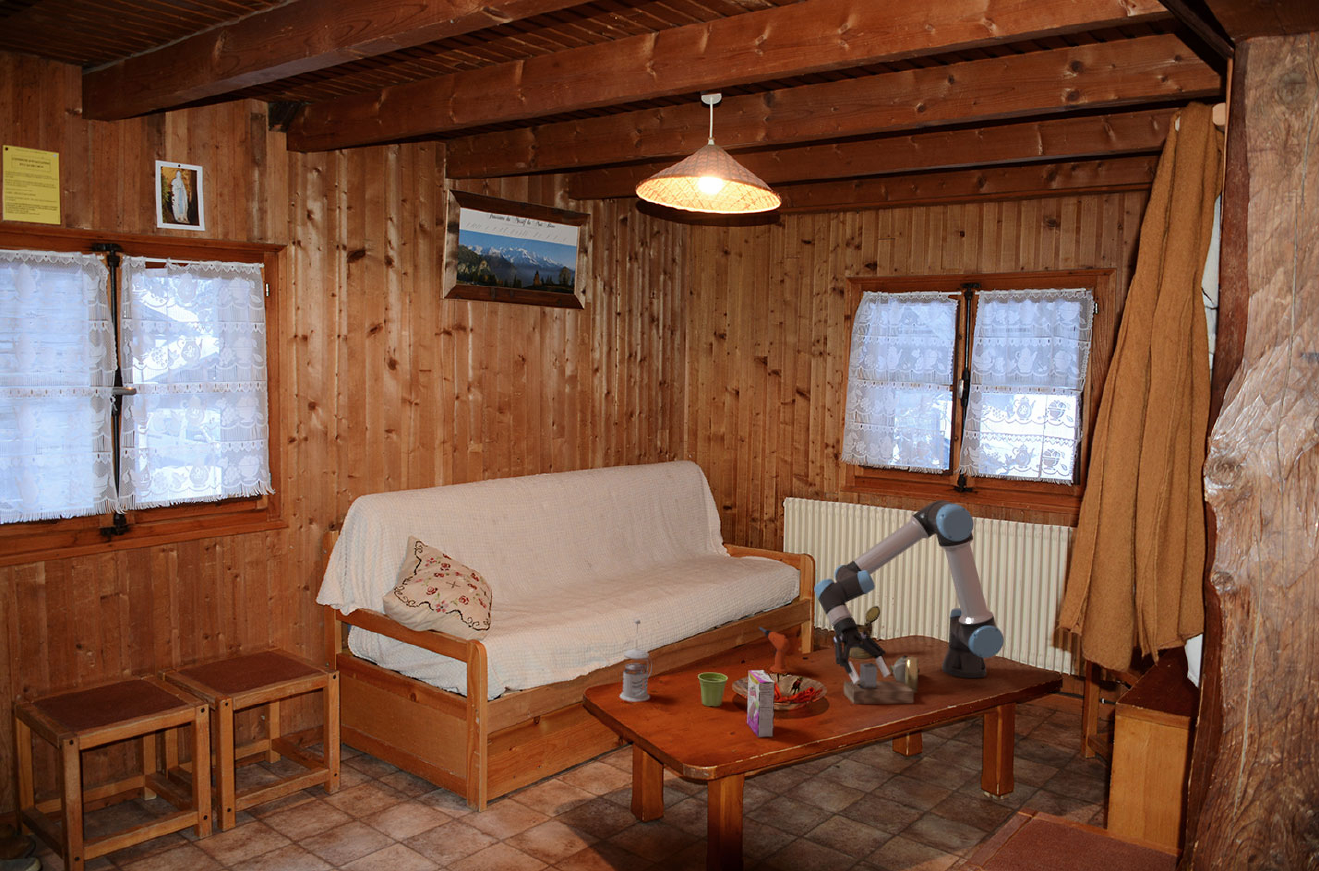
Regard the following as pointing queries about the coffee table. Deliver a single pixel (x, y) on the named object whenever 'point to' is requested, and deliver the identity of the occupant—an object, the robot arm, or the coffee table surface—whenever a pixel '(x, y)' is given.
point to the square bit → (868, 676)
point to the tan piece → (870, 617)
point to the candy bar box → (760, 703)
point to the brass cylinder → (911, 673)
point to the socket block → (879, 693)
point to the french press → (635, 676)
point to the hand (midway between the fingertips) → (872, 678)
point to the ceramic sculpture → (899, 669)
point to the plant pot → (712, 688)
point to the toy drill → (778, 649)
